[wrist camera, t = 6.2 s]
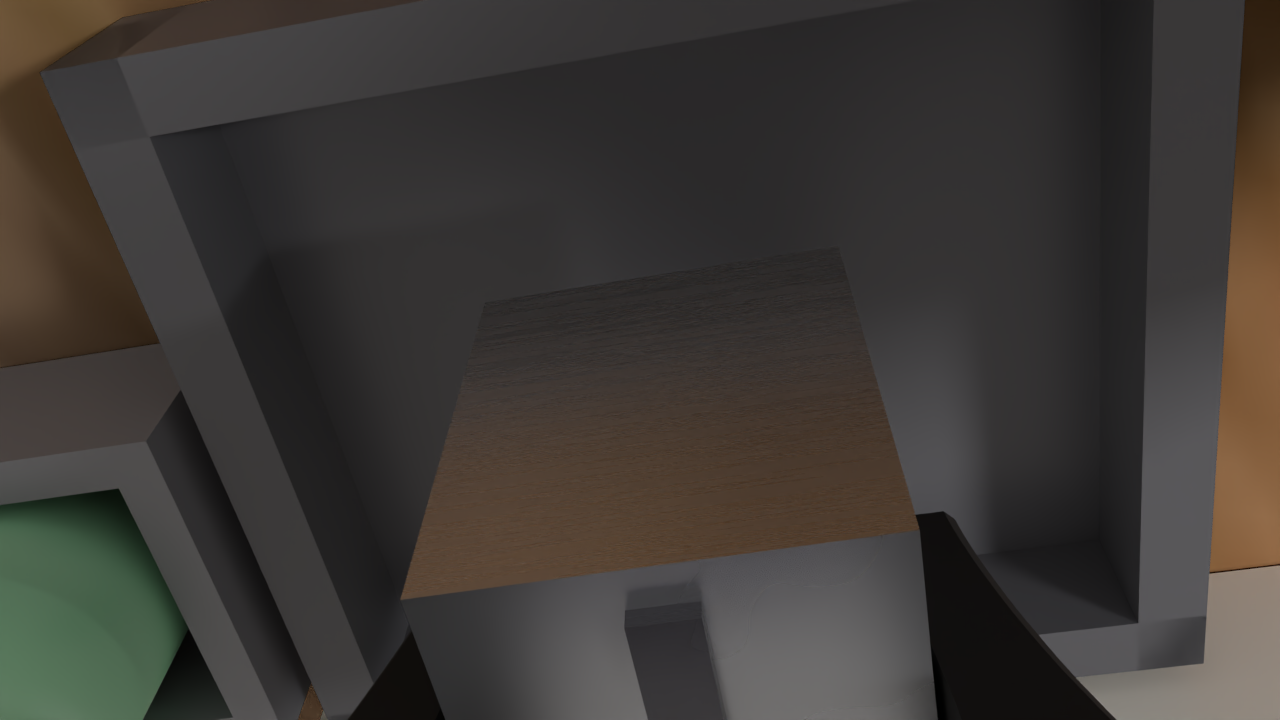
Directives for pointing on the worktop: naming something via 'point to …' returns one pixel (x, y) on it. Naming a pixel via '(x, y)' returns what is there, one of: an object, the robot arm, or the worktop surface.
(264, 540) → the tote
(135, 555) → the button
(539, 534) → the block
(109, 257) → the worktop surface
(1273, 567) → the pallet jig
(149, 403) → the button housing
